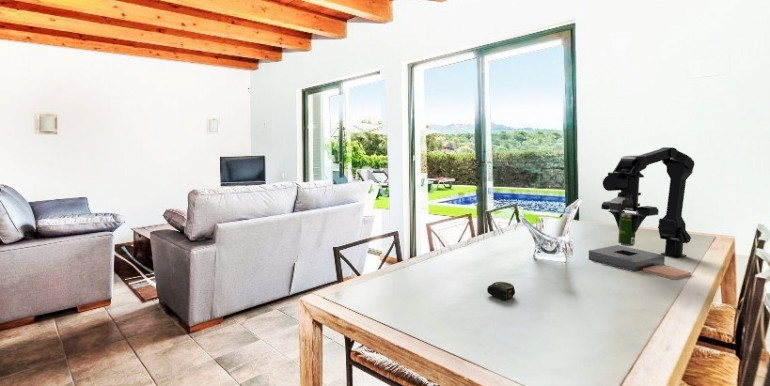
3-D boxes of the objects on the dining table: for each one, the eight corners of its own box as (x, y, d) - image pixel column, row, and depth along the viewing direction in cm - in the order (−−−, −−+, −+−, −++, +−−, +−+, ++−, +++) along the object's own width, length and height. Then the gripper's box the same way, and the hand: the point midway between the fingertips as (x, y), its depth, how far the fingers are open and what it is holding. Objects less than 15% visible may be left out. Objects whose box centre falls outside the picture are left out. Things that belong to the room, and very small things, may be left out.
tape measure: (485, 296, 118) (486, 284, 117) (500, 291, 122) (501, 279, 121) (504, 303, 112) (504, 290, 112) (519, 298, 116) (519, 285, 116)
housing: (617, 253, 162) (617, 245, 162) (664, 264, 146) (664, 255, 146) (588, 259, 154) (588, 250, 154) (635, 271, 138) (635, 262, 138)
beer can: (637, 244, 149) (639, 213, 147) (630, 247, 146) (632, 215, 144) (622, 242, 153) (623, 211, 152) (615, 244, 150) (617, 213, 149)
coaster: (659, 267, 143) (659, 264, 143) (690, 274, 134) (690, 272, 134) (643, 271, 139) (643, 268, 139) (674, 279, 130) (674, 276, 130)
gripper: (592, 188, 152) (590, 228, 154) (640, 193, 135) (637, 237, 137) (612, 187, 157) (609, 225, 159) (660, 191, 140) (657, 234, 142)
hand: (627, 230), depth 149 cm, fingers closed on beer can, 5 cm apart
